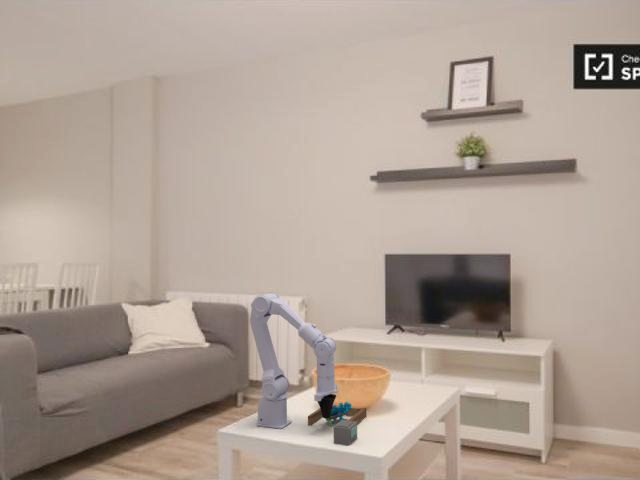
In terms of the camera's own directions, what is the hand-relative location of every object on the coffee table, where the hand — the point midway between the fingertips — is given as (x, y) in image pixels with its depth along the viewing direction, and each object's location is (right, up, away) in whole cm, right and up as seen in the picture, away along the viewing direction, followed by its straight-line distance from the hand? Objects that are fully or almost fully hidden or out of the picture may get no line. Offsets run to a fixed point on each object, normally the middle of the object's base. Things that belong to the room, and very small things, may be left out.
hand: (326, 417), depth 186 cm
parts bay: (+4, -4, +8) cm, 10 cm away
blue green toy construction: (+4, -4, +7) cm, 9 cm away
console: (+6, -4, -11) cm, 13 cm away
